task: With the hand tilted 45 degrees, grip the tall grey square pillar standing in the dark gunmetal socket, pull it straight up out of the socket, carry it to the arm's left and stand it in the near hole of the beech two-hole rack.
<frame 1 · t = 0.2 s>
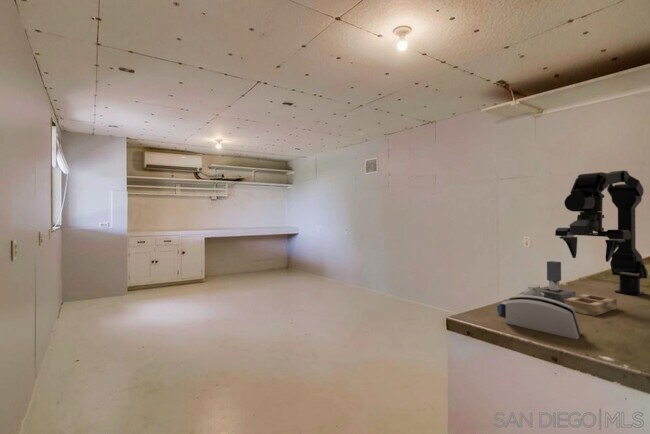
hand: (590, 259, 108), 15 cm above the table, tool pointing down, fingers open, 9 cm apart
grey arched slab: (540, 330, 87), on the table
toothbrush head: (521, 309, 106), on the table
socket: (554, 298, 116), on the table
tall grey square pillar: (554, 280, 115), in the socket
rack: (590, 308, 104), on the table
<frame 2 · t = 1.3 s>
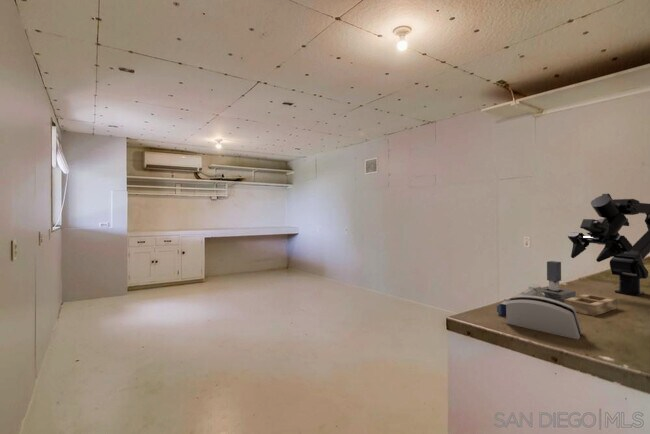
hand: (584, 259, 115), 14 cm above the table, tool tilted 45°, fingers open, 9 cm apart
nothing on the table moved.
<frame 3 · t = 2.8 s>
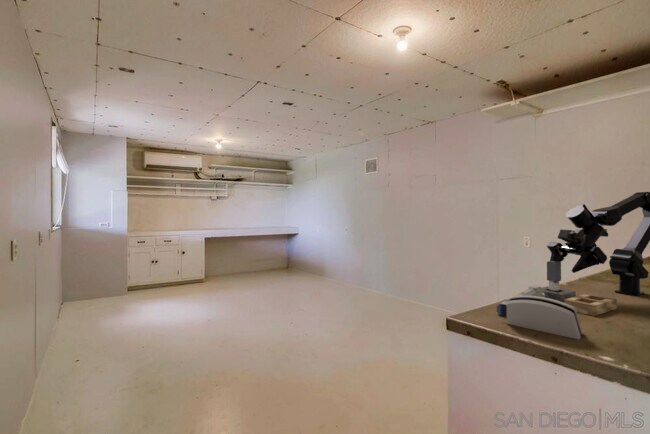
hand: (560, 269, 116), 10 cm above the table, tool tilted 45°, fingers open, 9 cm apart
nothing on the table moved.
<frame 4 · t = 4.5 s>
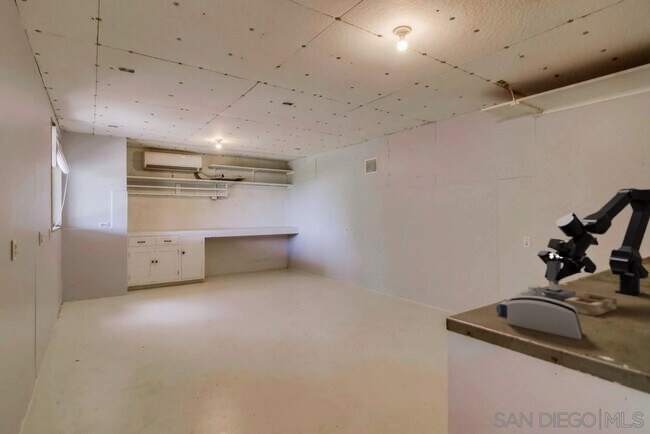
hand: (550, 278, 115), 7 cm above the table, tool tilted 45°, fingers closed on tall grey square pillar, 4 cm apart
tall grey square pillar: (553, 280, 115), in the socket, touching gripper
everything else where it was.
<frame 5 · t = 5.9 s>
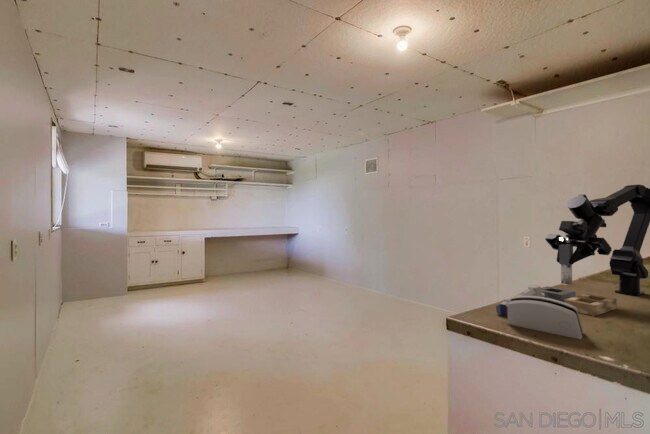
hand: (563, 262, 111), 13 cm above the table, tool tilted 45°, fingers closed on tall grey square pillar, 4 cm apart
tall grey square pillar: (566, 263, 111), point 13 cm above the table, touching gripper
everything else where it was.
when the fingers open (10 cm above the table, at t = 7.2 s): tall grey square pillar drops 3 cm, resting in rack.
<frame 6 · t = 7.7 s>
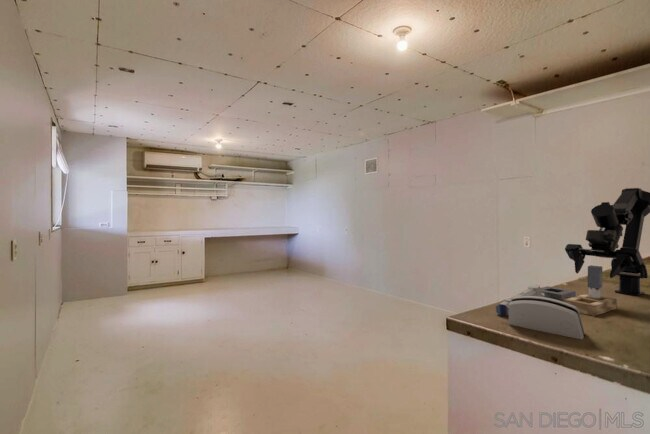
hand: (592, 274, 104), 11 cm above the table, tool tilted 45°, fingers open, 9 cm apart
tall grey square pillar: (594, 286, 105), in the rack
everything else where it was.
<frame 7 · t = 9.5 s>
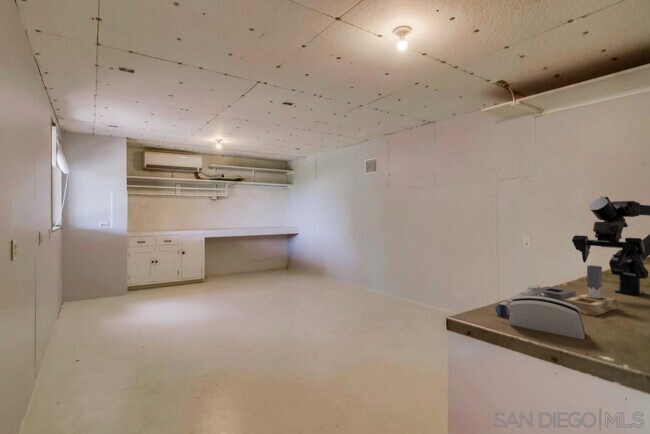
hand: (600, 263, 111), 13 cm above the table, tool tilted 45°, fingers open, 9 cm apart
nothing on the table moved.
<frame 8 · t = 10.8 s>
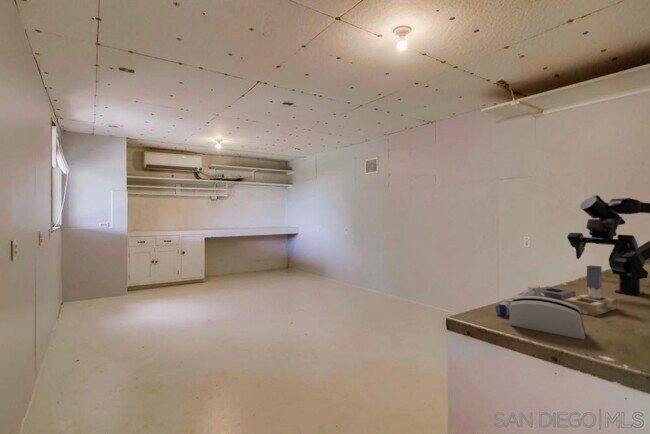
hand: (592, 259, 114), 14 cm above the table, tool tilted 45°, fingers open, 9 cm apart
at the end: tall grey square pillar 0.2 cm from the target spot on the rack, point 6.5 cm above the rack's base; tall grey square pillar tilted 0°; the gripper is holding nothing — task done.
